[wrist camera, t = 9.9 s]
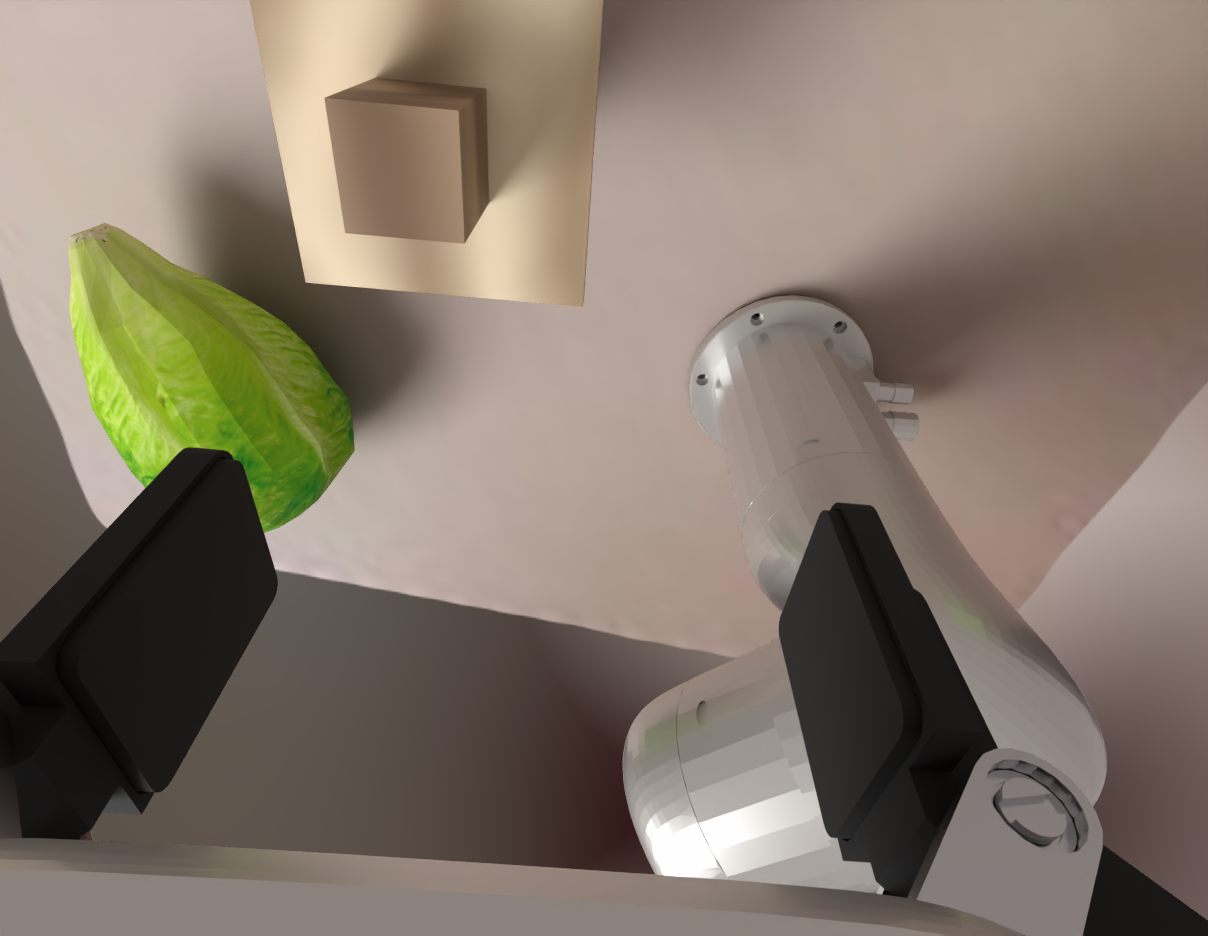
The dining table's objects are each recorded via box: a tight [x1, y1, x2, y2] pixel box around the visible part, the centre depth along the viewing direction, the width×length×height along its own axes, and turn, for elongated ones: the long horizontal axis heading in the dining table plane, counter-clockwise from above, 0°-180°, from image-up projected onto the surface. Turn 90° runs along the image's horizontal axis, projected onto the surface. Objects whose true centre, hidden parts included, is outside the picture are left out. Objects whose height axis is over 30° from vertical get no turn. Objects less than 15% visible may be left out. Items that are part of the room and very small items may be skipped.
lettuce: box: [68, 223, 354, 533], centre depth 41 cm, size 14×20×12 cm
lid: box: [250, 0, 604, 307], centre depth 23 cm, size 12×12×6 cm
